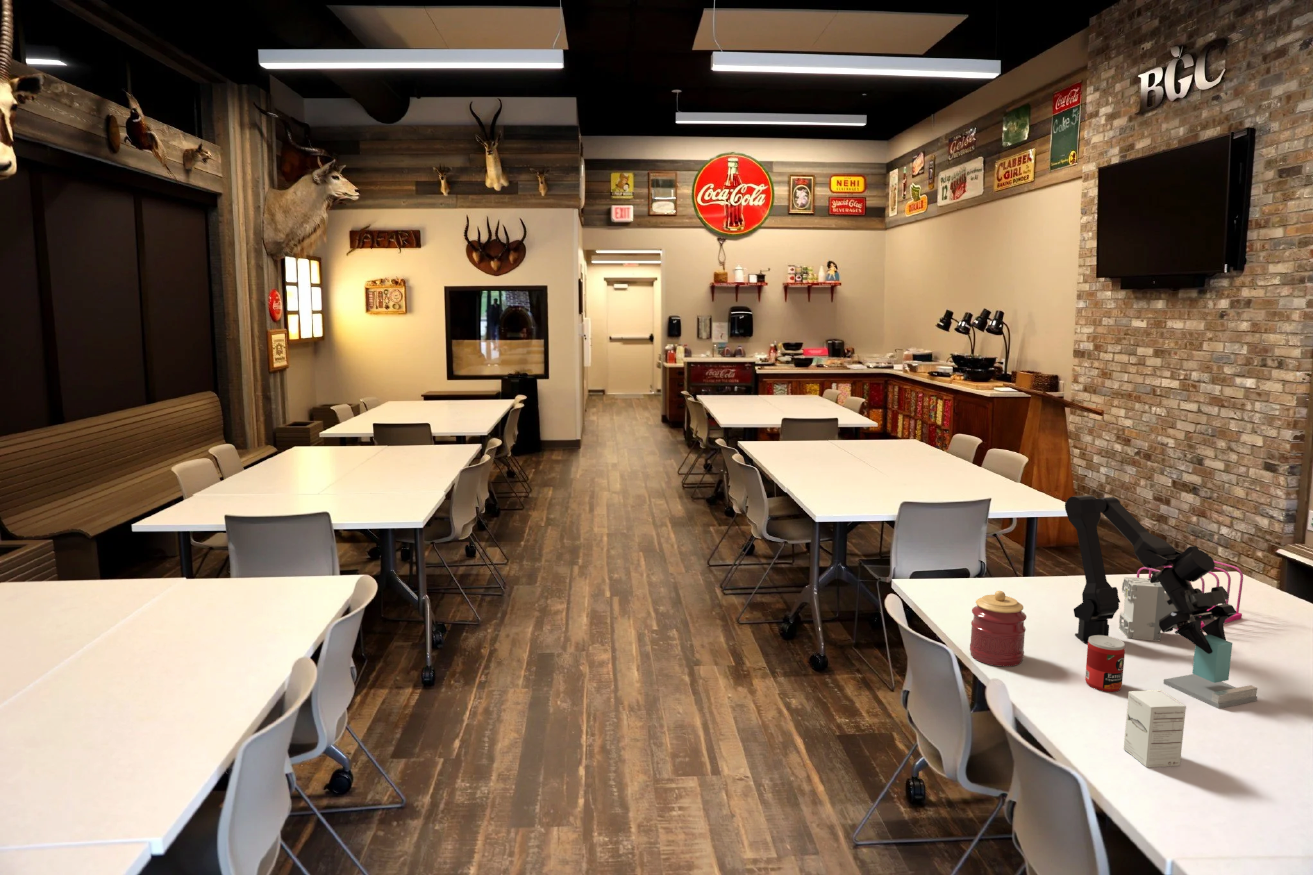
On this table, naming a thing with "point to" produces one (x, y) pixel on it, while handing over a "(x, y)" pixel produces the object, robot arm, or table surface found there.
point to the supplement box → (1154, 728)
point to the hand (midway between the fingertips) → (1218, 651)
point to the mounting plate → (1213, 691)
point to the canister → (998, 630)
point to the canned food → (1105, 663)
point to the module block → (1213, 660)
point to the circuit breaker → (1143, 608)
